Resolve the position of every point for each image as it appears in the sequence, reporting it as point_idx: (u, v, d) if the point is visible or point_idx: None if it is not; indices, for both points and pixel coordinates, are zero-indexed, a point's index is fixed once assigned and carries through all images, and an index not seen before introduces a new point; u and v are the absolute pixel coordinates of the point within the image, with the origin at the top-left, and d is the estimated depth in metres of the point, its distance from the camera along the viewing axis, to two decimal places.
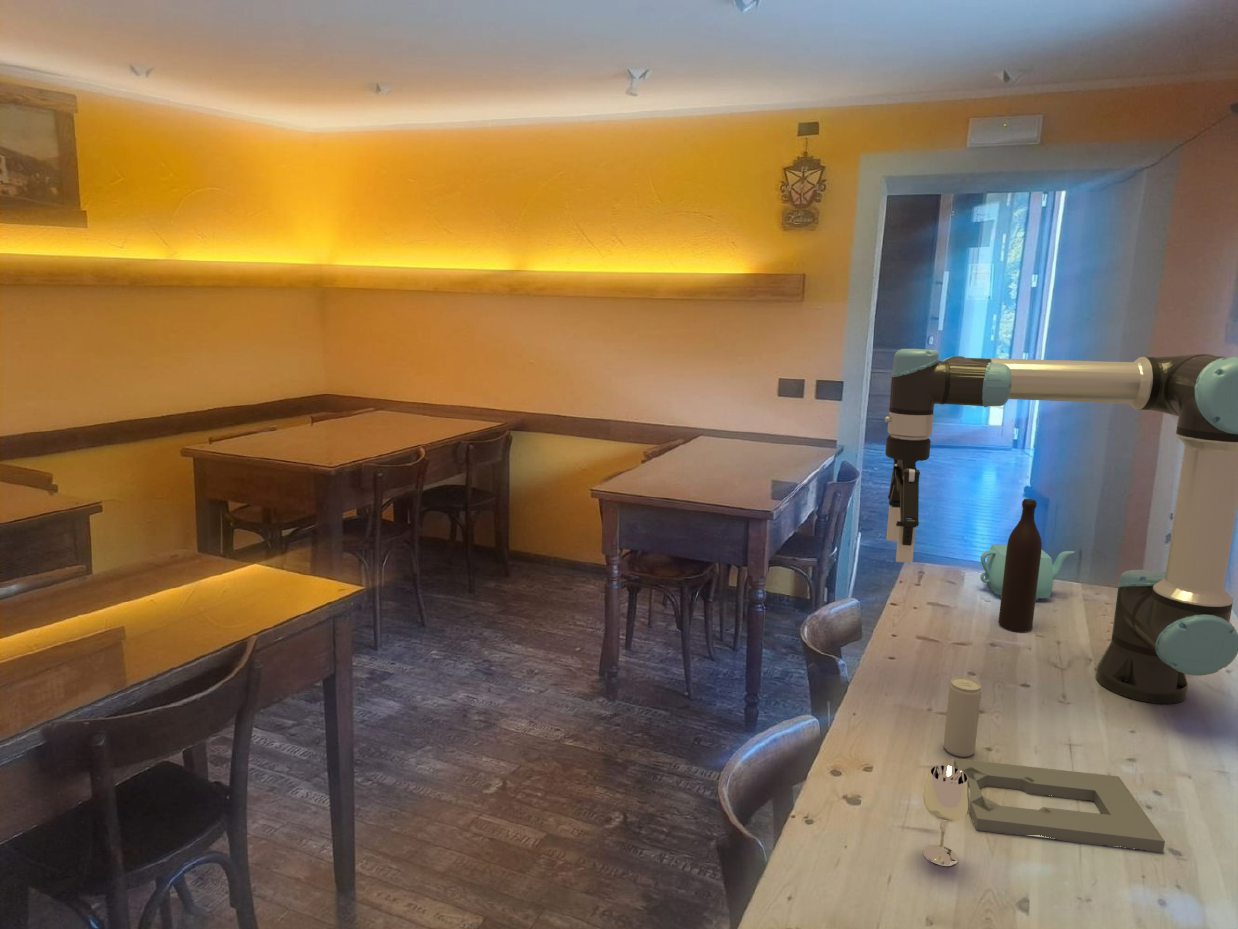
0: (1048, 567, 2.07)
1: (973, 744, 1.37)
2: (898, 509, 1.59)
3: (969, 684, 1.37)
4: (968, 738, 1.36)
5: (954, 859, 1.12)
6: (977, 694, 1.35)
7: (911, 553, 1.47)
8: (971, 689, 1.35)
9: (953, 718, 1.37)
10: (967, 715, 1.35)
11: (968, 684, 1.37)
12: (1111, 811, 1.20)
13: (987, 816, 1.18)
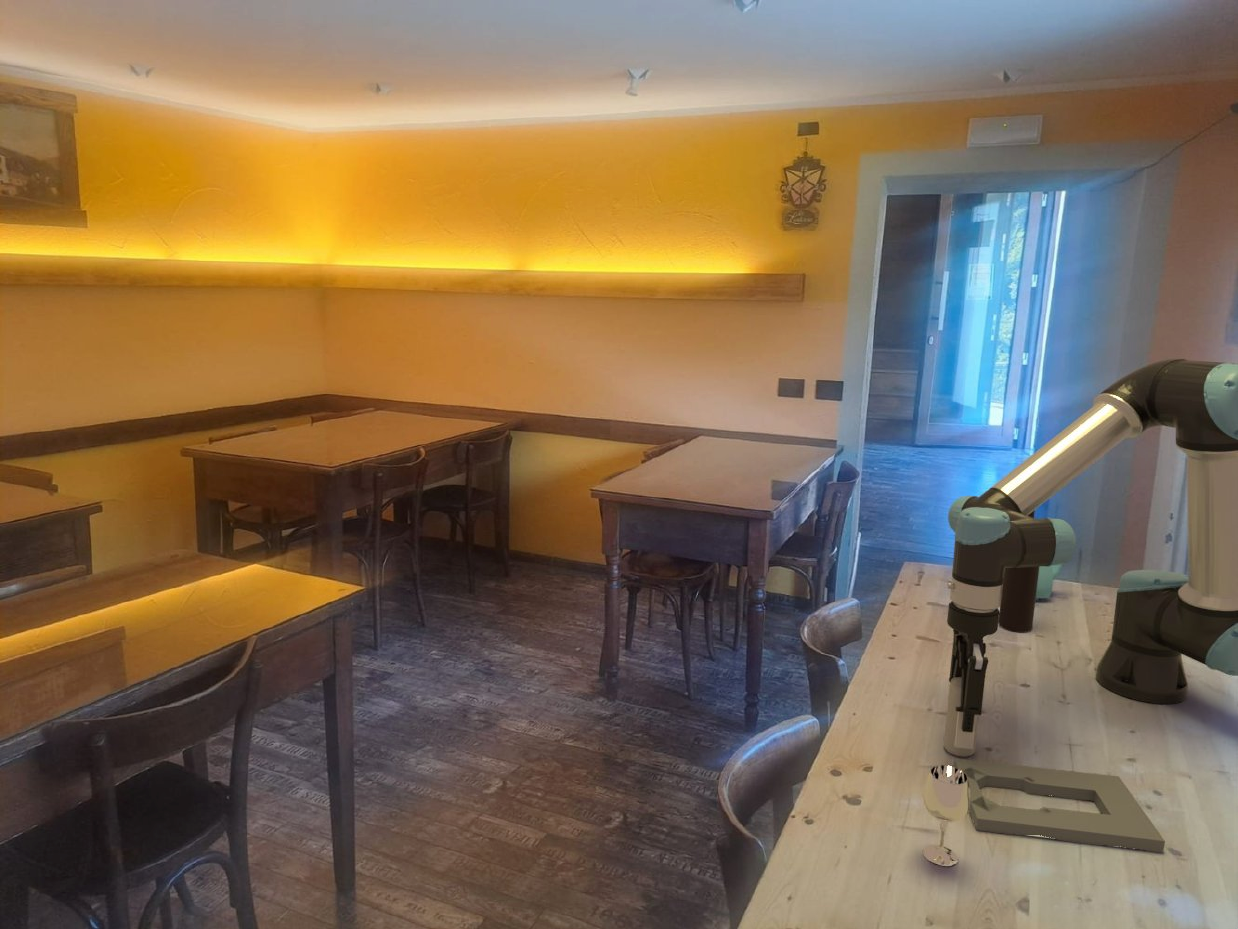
0: (1048, 567, 2.07)
1: (973, 744, 1.37)
2: None
3: None
4: None
5: (954, 859, 1.12)
6: None
7: (971, 739, 1.35)
8: None
9: (953, 718, 1.37)
10: None
11: None
12: (1111, 811, 1.20)
13: (987, 816, 1.18)
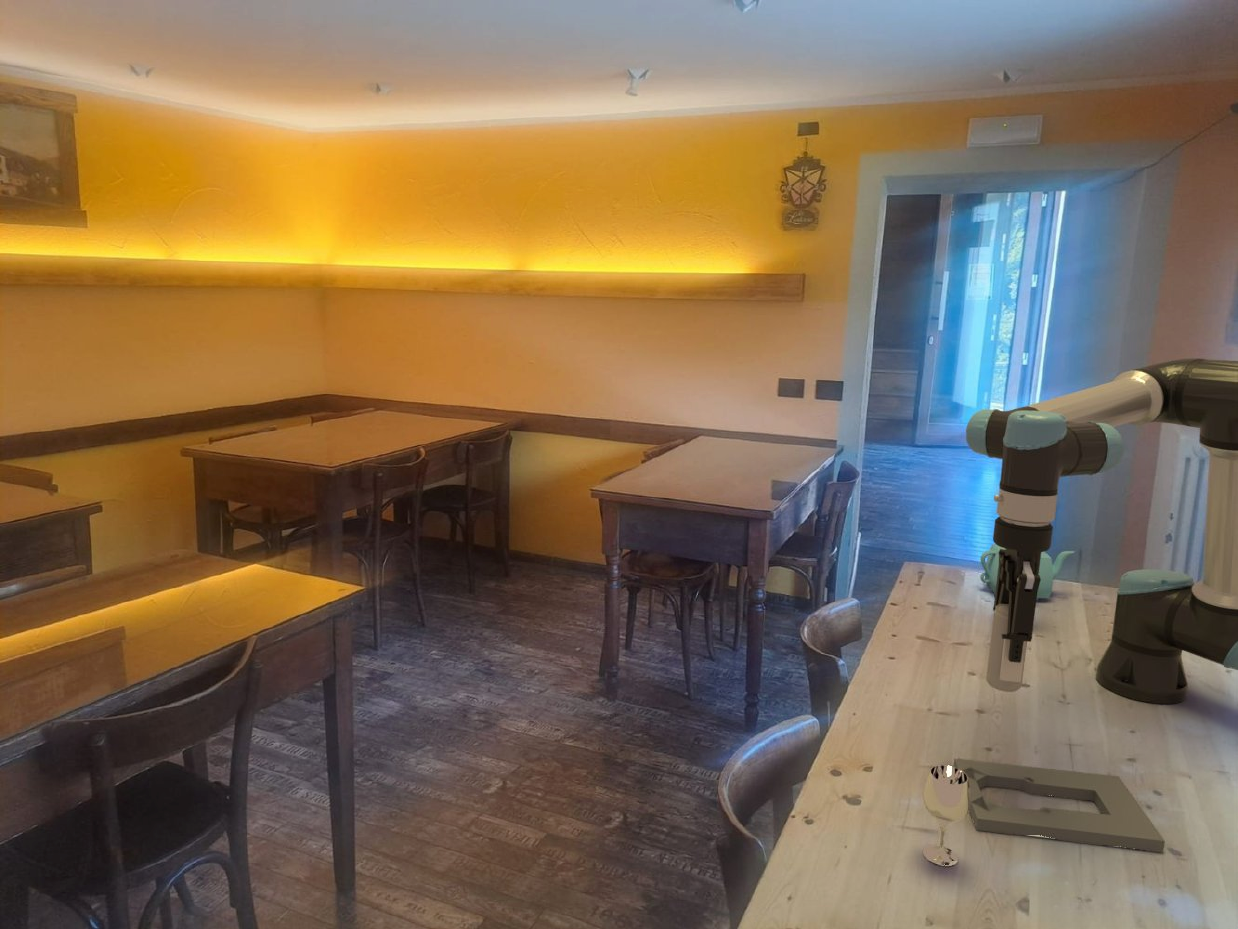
0: (1048, 567, 2.07)
1: None
2: None
3: None
4: None
5: (954, 859, 1.12)
6: None
7: (1019, 671, 1.21)
8: None
9: (997, 648, 1.22)
10: None
11: None
12: (1111, 811, 1.20)
13: (987, 816, 1.18)
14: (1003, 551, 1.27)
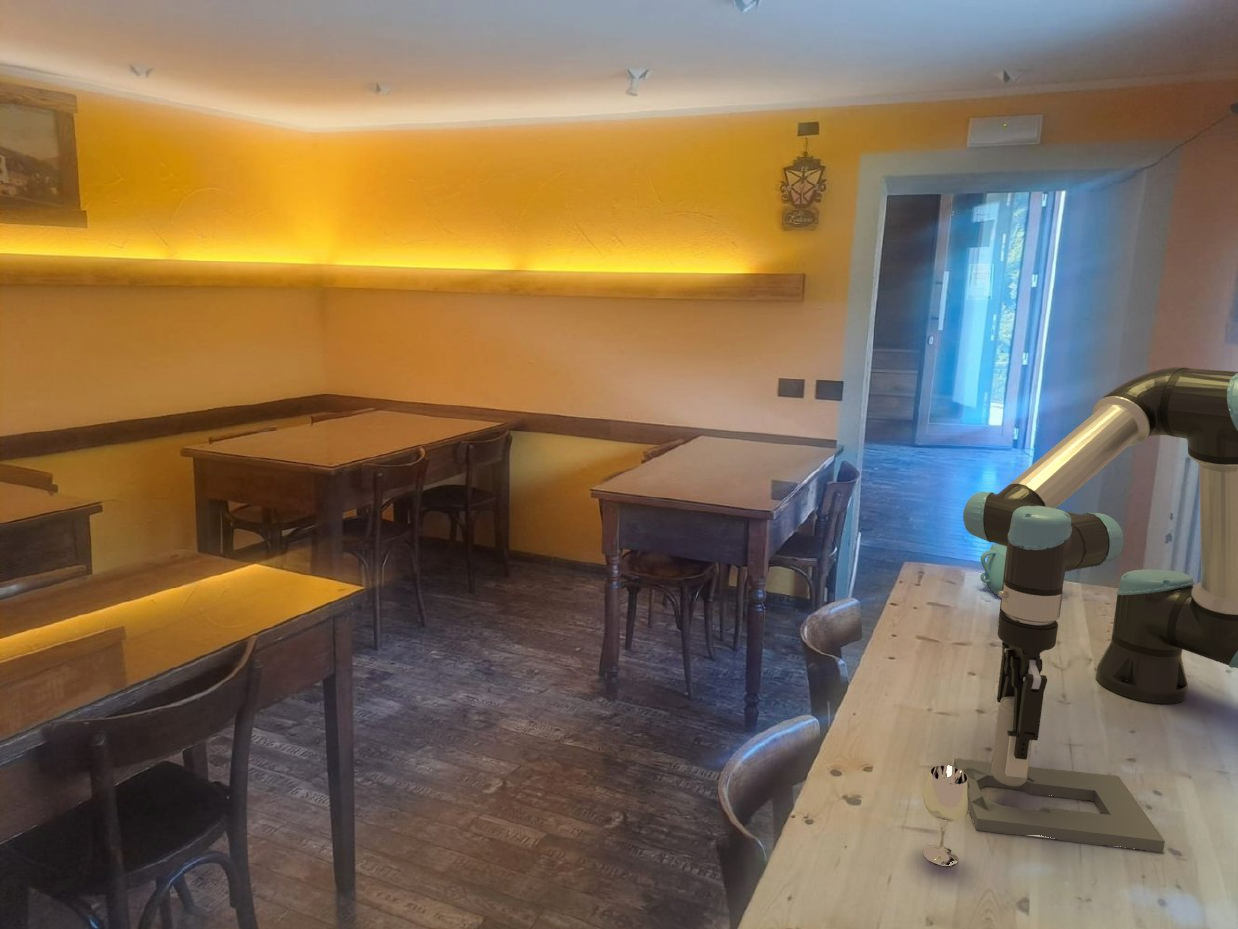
0: None
1: None
2: None
3: None
4: None
5: (954, 859, 1.12)
6: None
7: (1025, 767, 1.20)
8: None
9: (1003, 743, 1.22)
10: None
11: None
12: (1111, 811, 1.20)
13: (987, 816, 1.18)
14: None
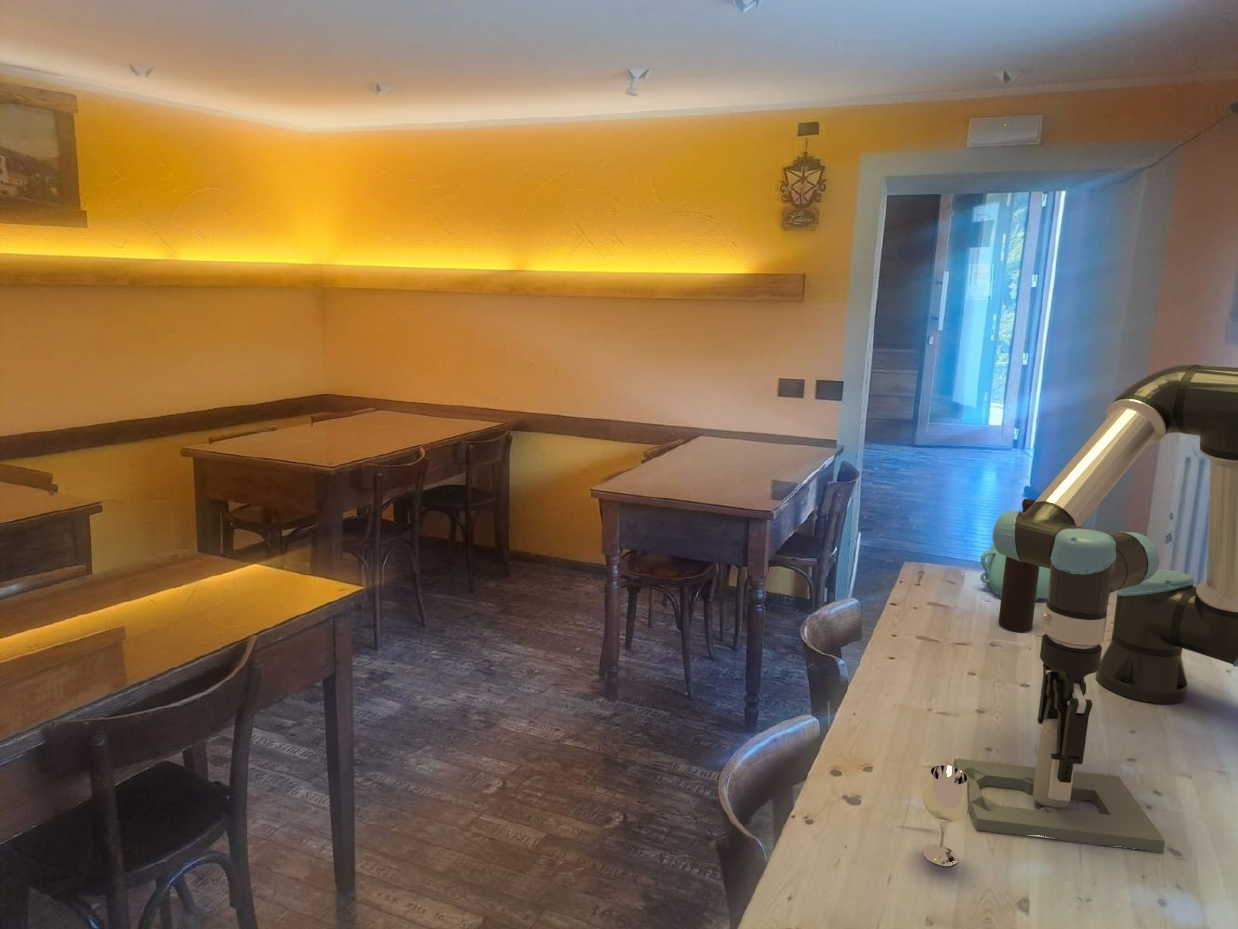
0: None
1: None
2: None
3: None
4: None
5: (954, 859, 1.12)
6: None
7: (1069, 790, 1.20)
8: None
9: (1045, 765, 1.21)
10: None
11: None
12: (1111, 811, 1.20)
13: (987, 816, 1.18)
14: None
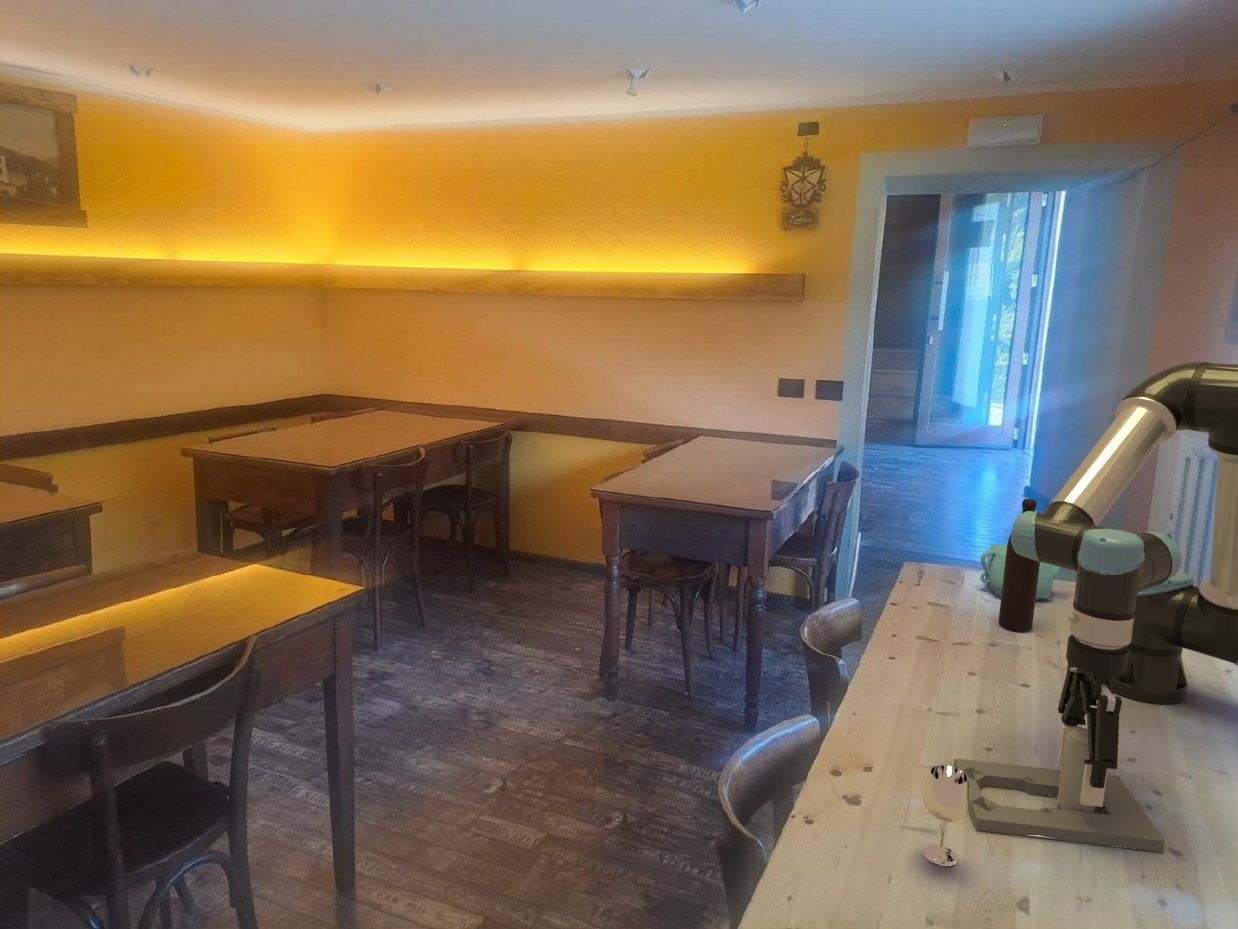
0: (1048, 567, 2.07)
1: None
2: None
3: None
4: None
5: (954, 859, 1.12)
6: None
7: (1101, 795, 1.17)
8: None
9: (1070, 774, 1.21)
10: None
11: None
12: (1111, 811, 1.20)
13: (987, 816, 1.18)
14: None
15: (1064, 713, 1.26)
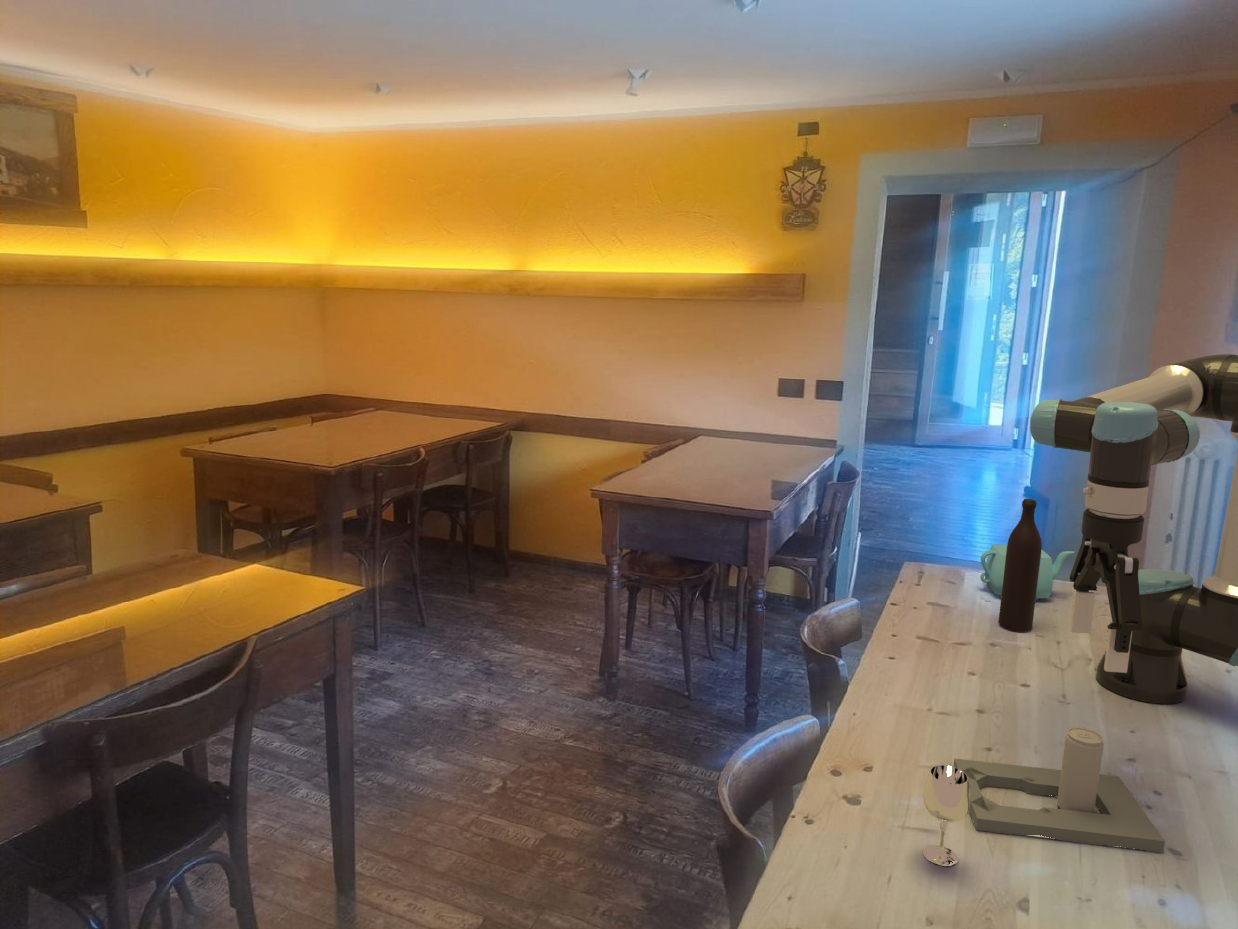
0: (1048, 567, 2.07)
1: (1093, 803, 1.21)
2: (1087, 595, 1.29)
3: (1089, 736, 1.21)
4: (1089, 798, 1.20)
5: (954, 859, 1.12)
6: (1100, 748, 1.19)
7: (1126, 661, 1.17)
8: (1093, 742, 1.19)
9: (1071, 774, 1.21)
10: (1088, 772, 1.20)
11: (1088, 736, 1.21)
12: (1111, 811, 1.20)
13: (987, 816, 1.18)
14: None
15: (1076, 581, 1.29)
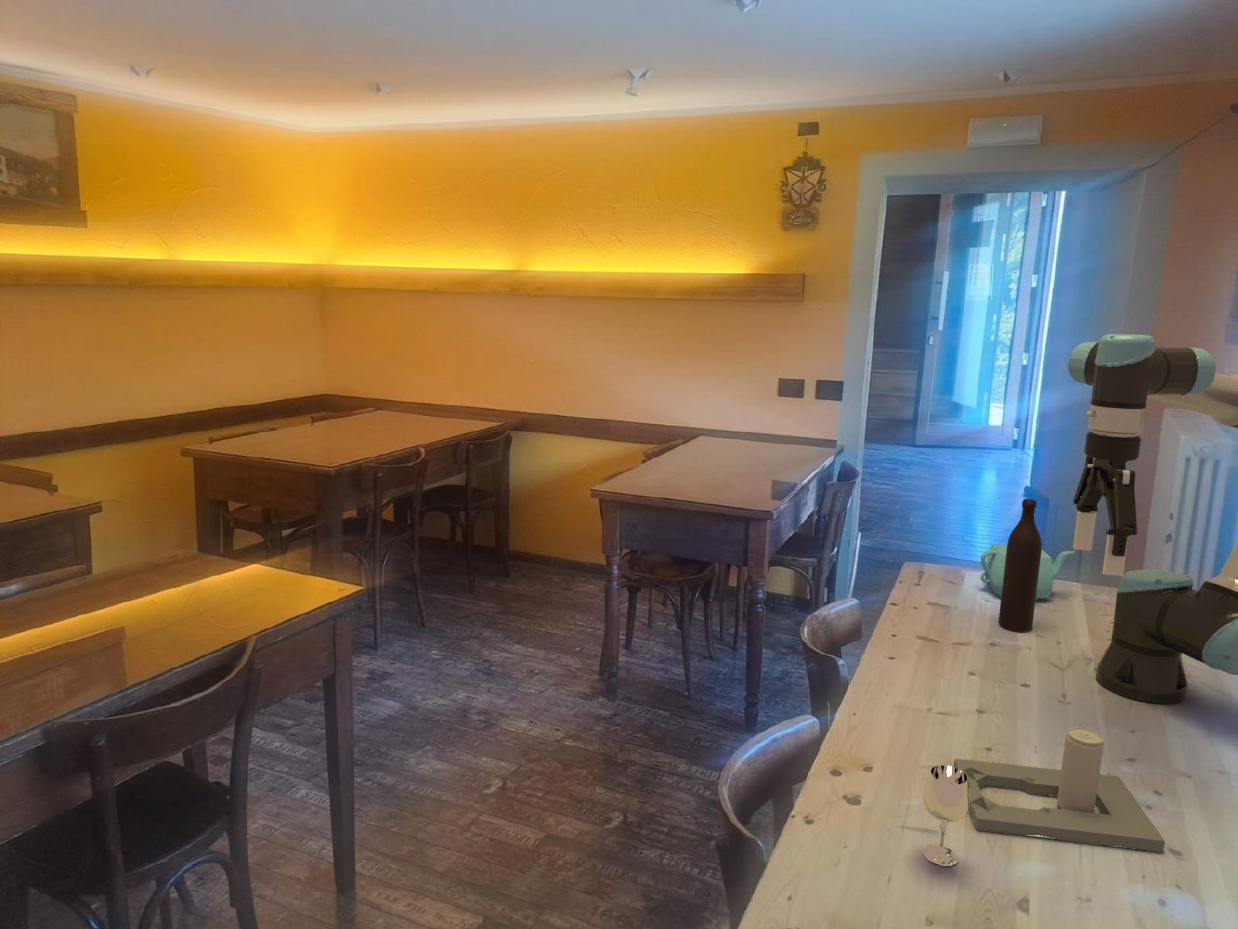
0: (1048, 567, 2.07)
1: (1094, 803, 1.21)
2: (1089, 515, 1.42)
3: (1089, 736, 1.21)
4: (1089, 798, 1.20)
5: (954, 859, 1.12)
6: (1100, 748, 1.19)
7: (1122, 565, 1.30)
8: (1093, 742, 1.19)
9: (1071, 774, 1.21)
10: (1088, 772, 1.20)
11: (1088, 736, 1.21)
12: (1111, 811, 1.20)
13: (987, 816, 1.18)
14: (1091, 458, 1.40)
15: (1079, 502, 1.43)
